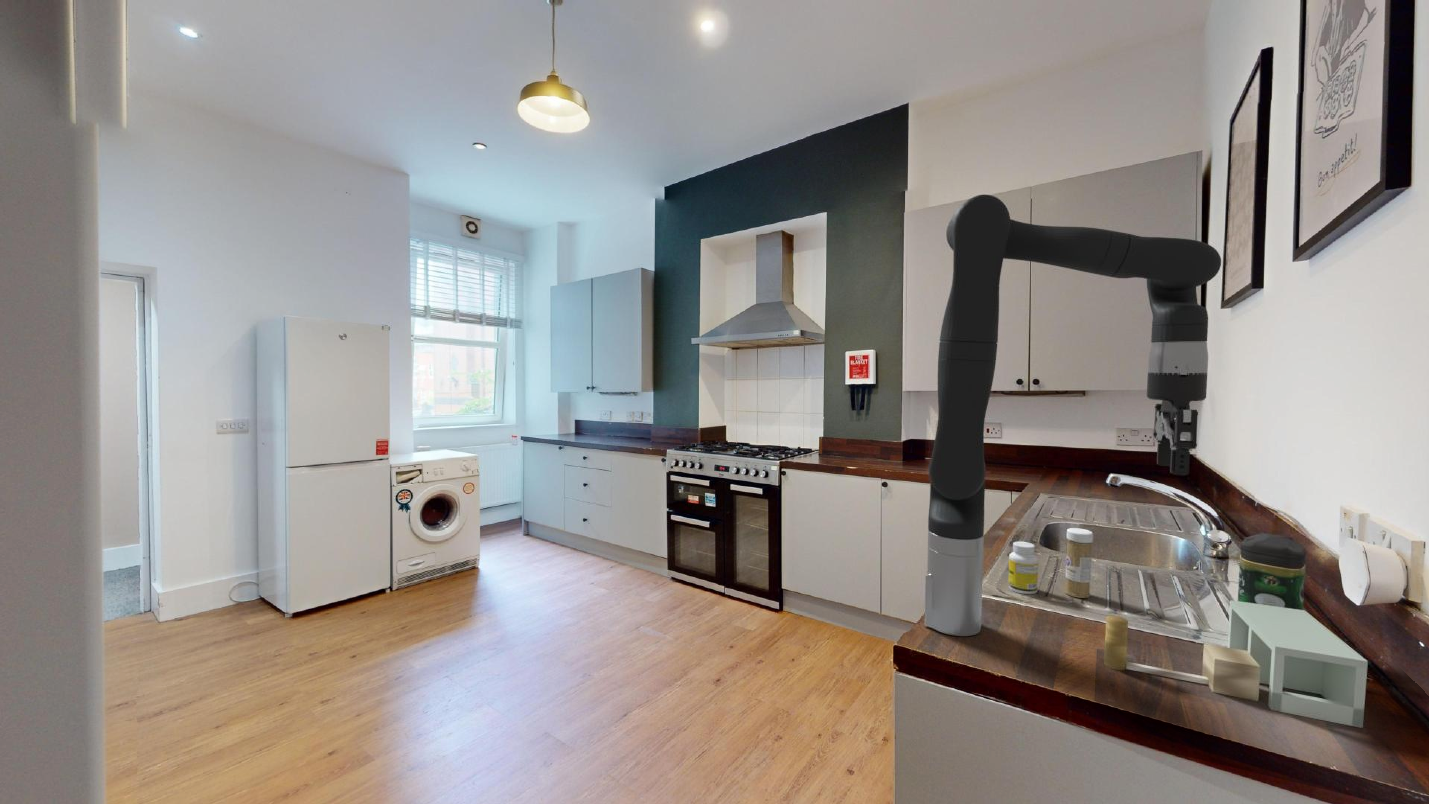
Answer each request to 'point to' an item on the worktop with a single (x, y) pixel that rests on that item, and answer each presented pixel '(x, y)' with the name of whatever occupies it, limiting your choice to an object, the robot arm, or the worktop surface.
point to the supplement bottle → (1023, 568)
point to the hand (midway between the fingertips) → (1171, 470)
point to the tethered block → (1220, 672)
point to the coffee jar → (1272, 571)
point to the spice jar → (1078, 562)
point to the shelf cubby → (1301, 662)
